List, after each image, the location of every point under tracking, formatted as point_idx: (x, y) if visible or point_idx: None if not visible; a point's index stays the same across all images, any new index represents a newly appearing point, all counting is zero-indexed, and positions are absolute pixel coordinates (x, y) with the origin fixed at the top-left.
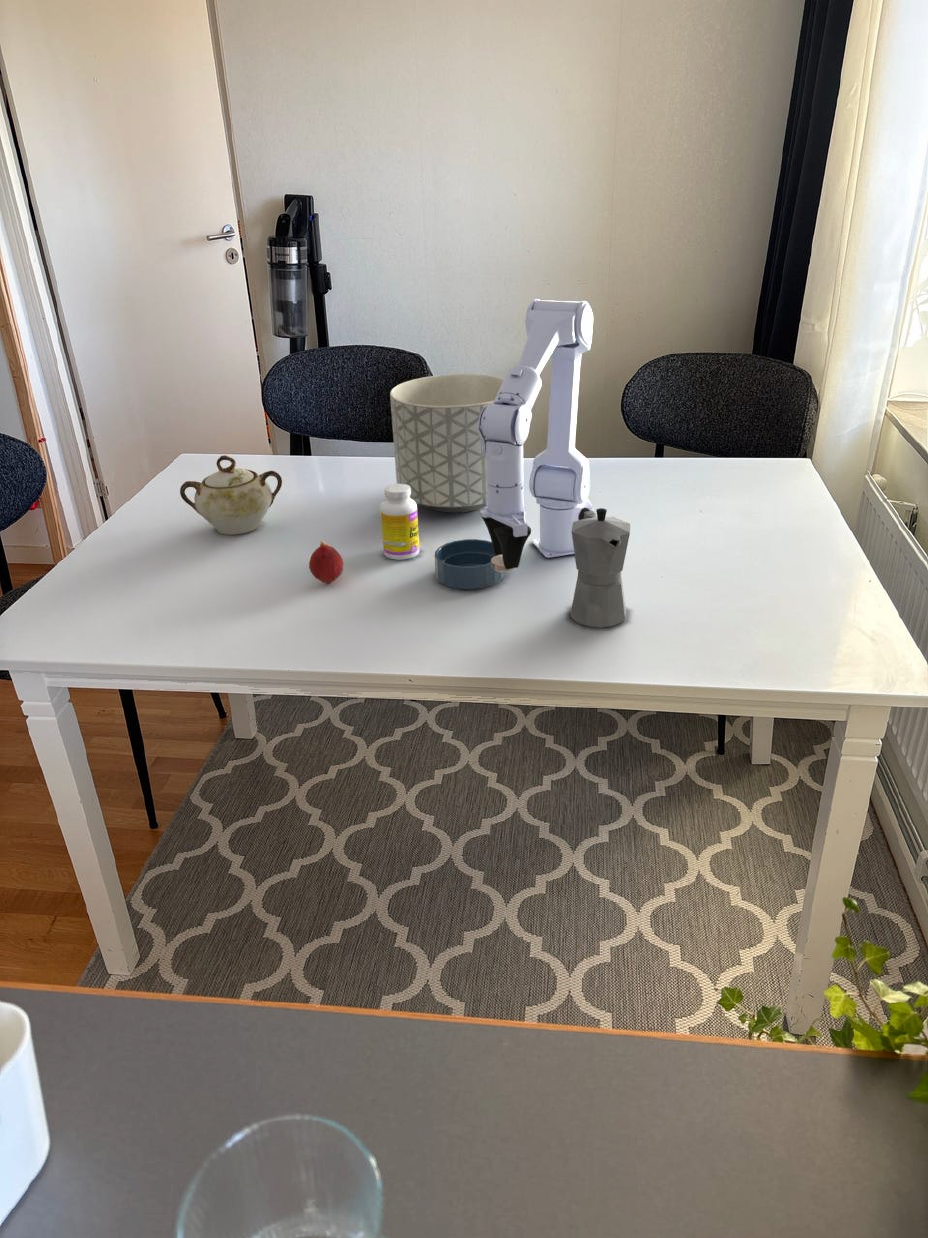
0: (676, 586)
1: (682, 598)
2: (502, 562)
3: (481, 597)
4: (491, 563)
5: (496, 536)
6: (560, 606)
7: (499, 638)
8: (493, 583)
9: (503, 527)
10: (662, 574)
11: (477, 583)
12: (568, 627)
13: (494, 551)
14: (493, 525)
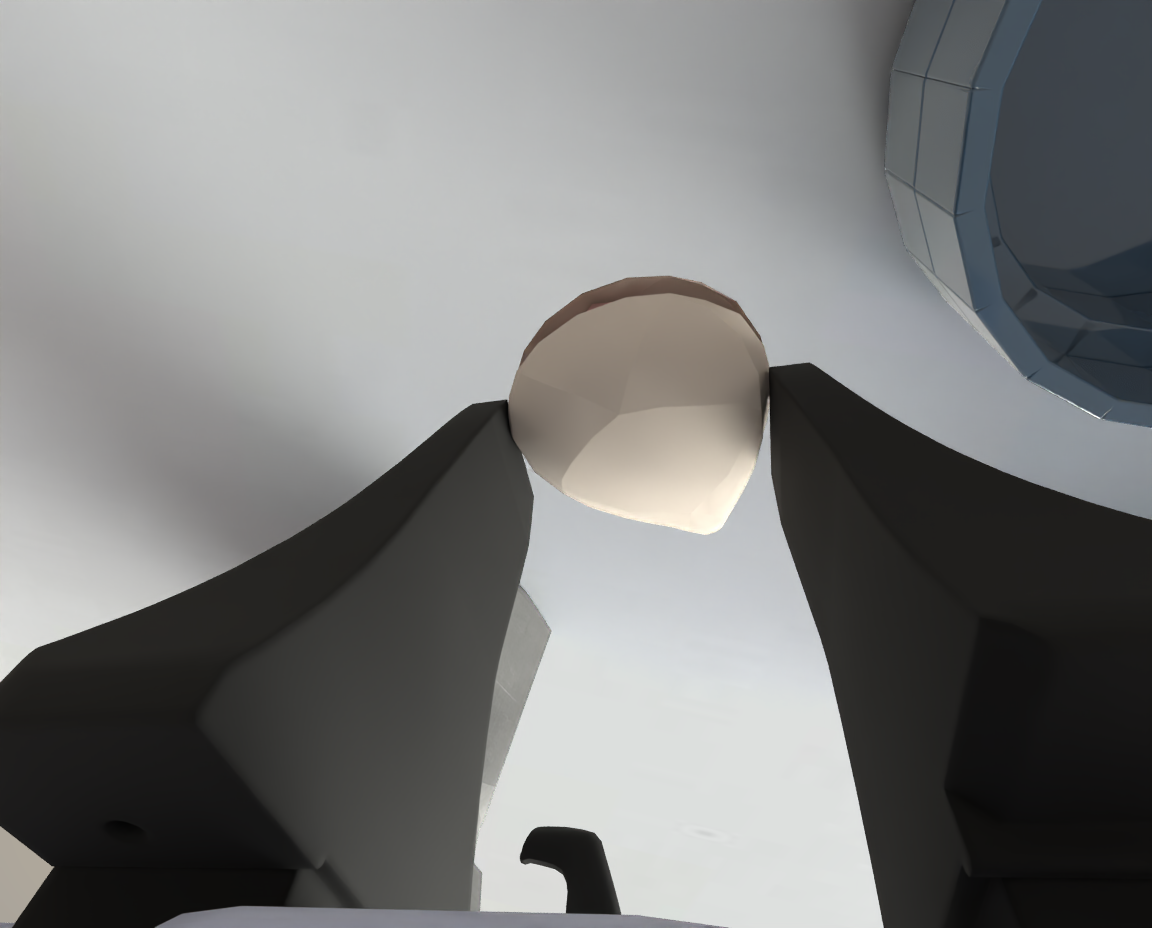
0: (622, 839)
1: (534, 827)
2: (534, 404)
3: (761, 108)
4: (710, 287)
5: (835, 526)
6: (532, 525)
7: (150, 150)
8: (903, 238)
9: (272, 846)
10: (724, 839)
11: (900, 99)
12: (319, 509)
13: (803, 379)
14: (900, 644)
